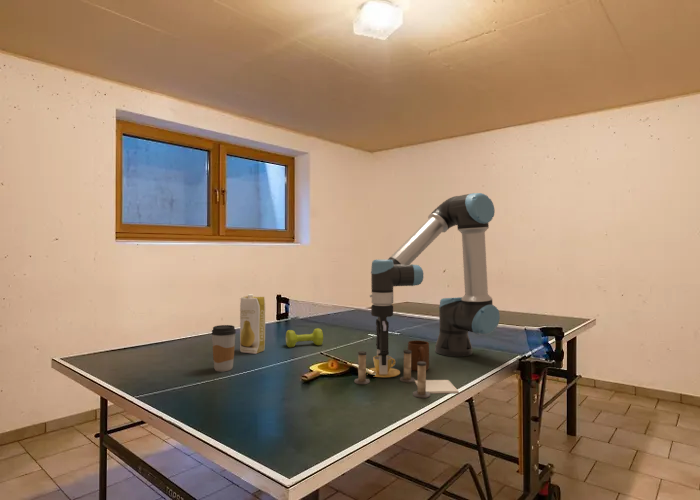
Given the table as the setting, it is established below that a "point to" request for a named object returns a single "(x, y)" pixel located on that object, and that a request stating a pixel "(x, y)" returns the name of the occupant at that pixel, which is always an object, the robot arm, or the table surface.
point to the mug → (419, 353)
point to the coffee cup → (223, 347)
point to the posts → (407, 377)
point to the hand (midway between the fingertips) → (382, 371)
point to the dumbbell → (304, 337)
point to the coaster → (439, 386)
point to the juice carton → (252, 324)
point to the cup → (391, 371)
